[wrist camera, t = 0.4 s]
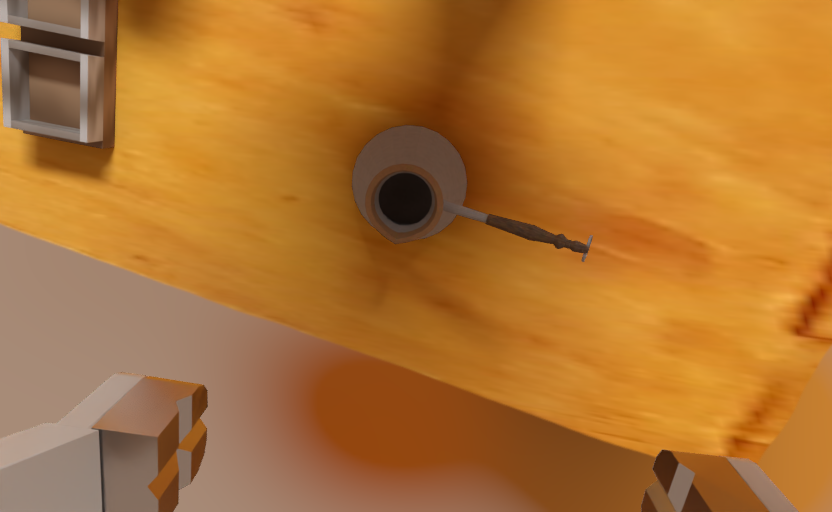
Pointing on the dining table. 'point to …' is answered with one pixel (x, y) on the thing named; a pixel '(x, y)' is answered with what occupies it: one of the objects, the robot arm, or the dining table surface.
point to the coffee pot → (424, 189)
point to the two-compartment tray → (61, 69)
